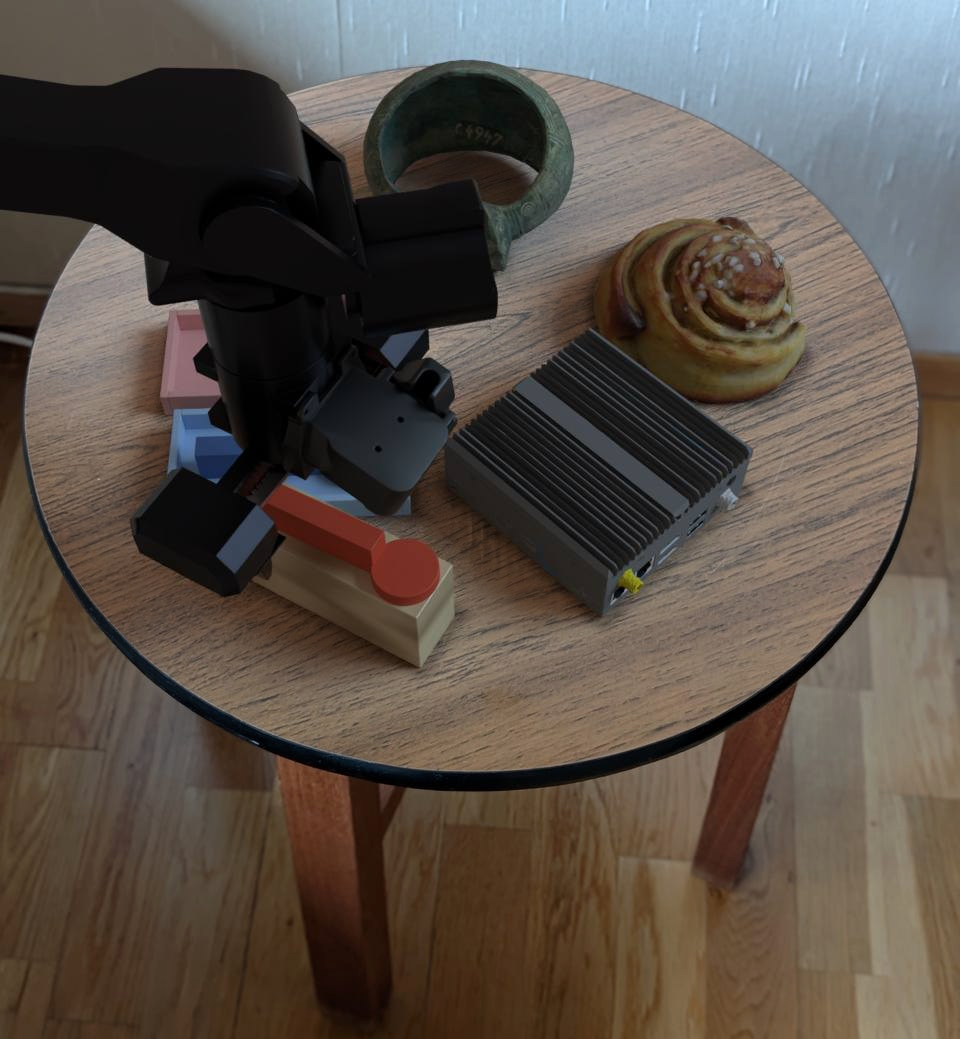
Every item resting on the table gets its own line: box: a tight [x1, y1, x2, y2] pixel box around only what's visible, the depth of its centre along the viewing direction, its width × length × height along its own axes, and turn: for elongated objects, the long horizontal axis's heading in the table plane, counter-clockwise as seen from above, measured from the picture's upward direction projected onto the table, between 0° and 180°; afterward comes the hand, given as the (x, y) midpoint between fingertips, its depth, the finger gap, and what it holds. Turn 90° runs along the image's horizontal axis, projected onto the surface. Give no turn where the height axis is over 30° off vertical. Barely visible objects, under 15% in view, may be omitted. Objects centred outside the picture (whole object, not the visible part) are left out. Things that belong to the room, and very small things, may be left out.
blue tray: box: [166, 408, 412, 518], centre depth 84 cm, size 15×8×2 cm, turn 92°
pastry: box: [592, 216, 807, 404], centre depth 89 cm, size 13×15×8 cm
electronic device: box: [442, 327, 754, 618], centre depth 82 cm, size 13×15×5 cm
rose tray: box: [159, 308, 221, 416], centre depth 89 cm, size 15×8×2 cm, turn 92°
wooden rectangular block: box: [251, 482, 455, 668], centre depth 78 cm, size 13×4×6 cm, turn 60°
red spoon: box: [251, 484, 440, 606], centre depth 74 cm, size 12×4×2 cm, turn 62°
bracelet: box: [362, 59, 575, 272], centre depth 94 cm, size 15×15×10 cm
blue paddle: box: [194, 436, 322, 479], centre depth 84 cm, size 12×4×2 cm, turn 92°
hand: (305, 517), depth 75 cm, fingers open, 8 cm apart
